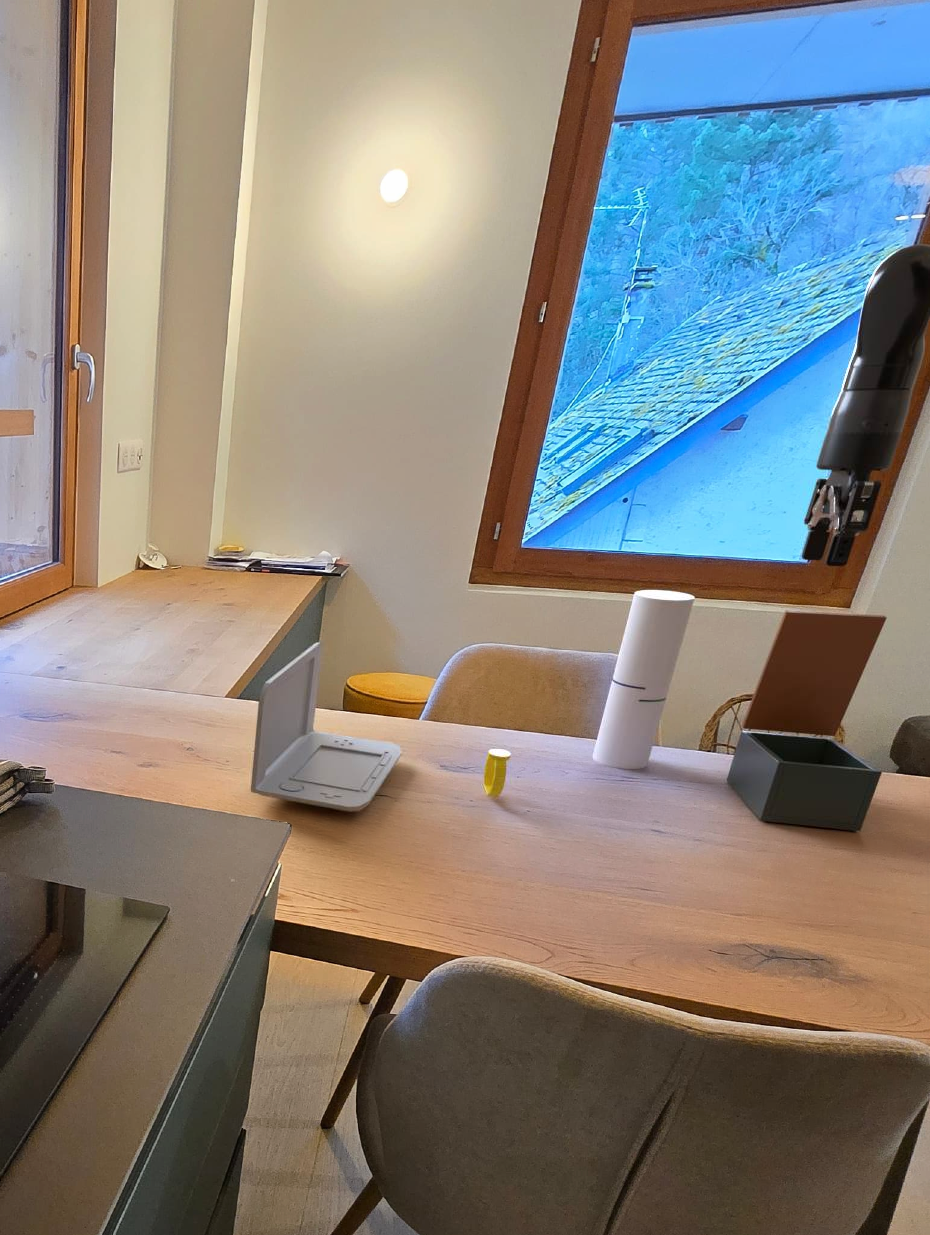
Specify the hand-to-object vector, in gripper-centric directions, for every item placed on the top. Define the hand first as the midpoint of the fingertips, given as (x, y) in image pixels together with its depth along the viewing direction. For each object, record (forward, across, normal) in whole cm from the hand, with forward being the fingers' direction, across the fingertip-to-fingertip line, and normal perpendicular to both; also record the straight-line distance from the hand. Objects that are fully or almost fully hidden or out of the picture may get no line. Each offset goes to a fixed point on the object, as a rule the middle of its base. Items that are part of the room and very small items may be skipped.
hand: (822, 562), depth 128 cm
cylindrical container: (+30, -2, +18) cm, 35 cm away
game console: (+29, -24, +58) cm, 69 cm away
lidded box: (+30, -14, 0) cm, 33 cm away
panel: (+14, -8, 0) cm, 16 cm away
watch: (+30, -23, +37) cm, 53 cm away
